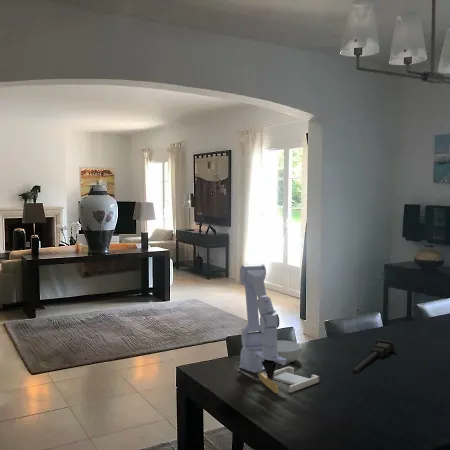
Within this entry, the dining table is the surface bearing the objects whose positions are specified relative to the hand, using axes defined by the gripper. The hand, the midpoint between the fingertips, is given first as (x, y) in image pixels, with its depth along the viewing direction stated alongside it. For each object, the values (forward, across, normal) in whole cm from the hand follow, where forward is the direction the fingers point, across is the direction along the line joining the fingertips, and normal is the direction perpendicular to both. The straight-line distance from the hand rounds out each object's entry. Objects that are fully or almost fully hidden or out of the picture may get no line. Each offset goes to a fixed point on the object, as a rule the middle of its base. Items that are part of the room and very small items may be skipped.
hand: (270, 379), depth 198 cm
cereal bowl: (+2, +14, -25) cm, 29 cm away
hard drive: (+3, -4, -9) cm, 10 cm away
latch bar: (+2, 0, +2) cm, 3 cm away
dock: (+2, -2, -7) cm, 8 cm away
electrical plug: (+3, -14, -54) cm, 56 cm away
